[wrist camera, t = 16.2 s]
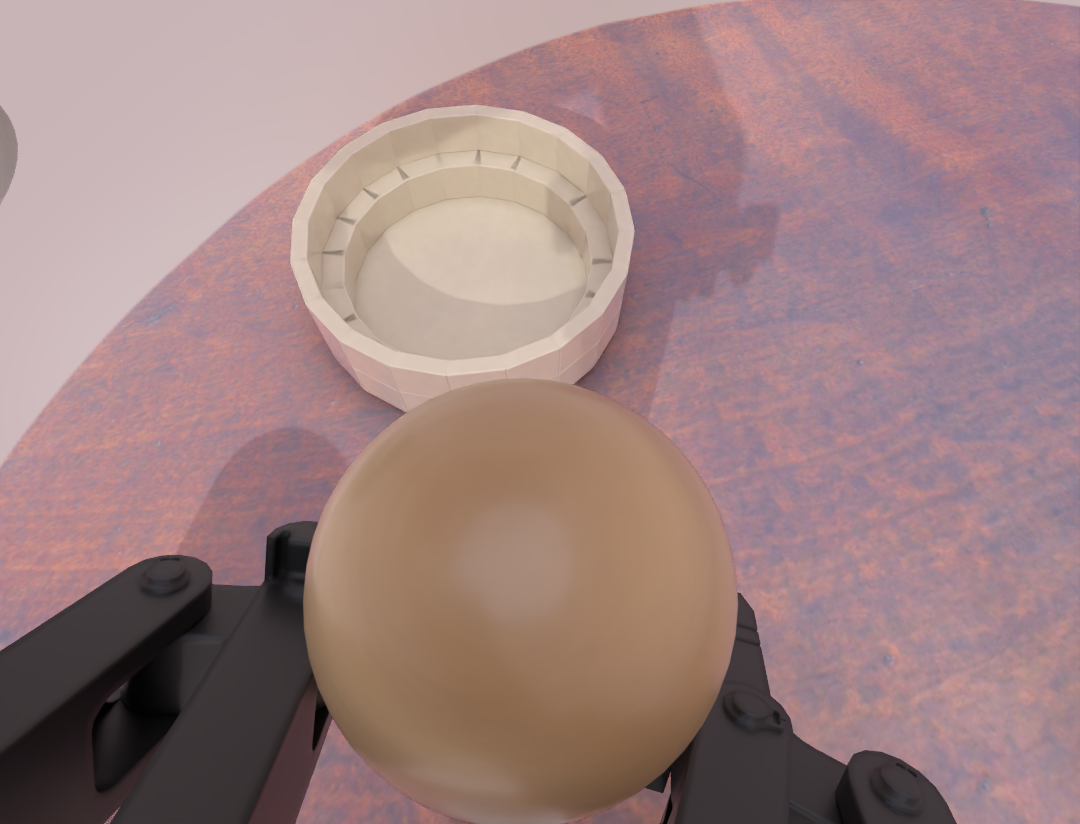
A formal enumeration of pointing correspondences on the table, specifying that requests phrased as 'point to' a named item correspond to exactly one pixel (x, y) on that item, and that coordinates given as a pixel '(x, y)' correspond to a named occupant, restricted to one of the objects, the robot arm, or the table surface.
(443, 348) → the bowl
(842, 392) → the table surface
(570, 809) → the pestle
